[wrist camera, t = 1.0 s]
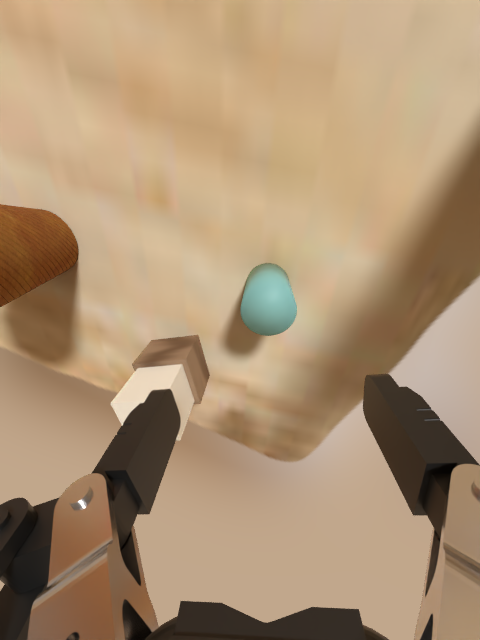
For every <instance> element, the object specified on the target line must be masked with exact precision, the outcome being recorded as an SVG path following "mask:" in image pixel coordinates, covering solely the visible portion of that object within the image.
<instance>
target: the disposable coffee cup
mask: <svg viewBox="0 0 480 640" xmlns="http://www.w3.org/2000/svg"><path fill="white" fill-rule="evenodd" d="M77 256H78V246H77V242H76V239H75V236H74V234H73V233H72V231H71V229H70V228H69V227H68V225H67V224H66V223H65V222H64V221H63V220H62V219H61V218H59V217H58V216H57V215H55V214H53V213H51V212H49V211H46V210H42V209H32V208H24V207H16V206H8V205H0V307H2V306H3V305H5V304H7V303H9V302H11V301H12V300H14V299H16V298H18V297H20V296H22V295H23V294H25V293H27V292H29V291H31V290H32V289H34V288H36V287H38V286H40V285H41V284H43V283H45V282H47V281H49V280H50V279H52V278H54V277H56V276H58V275H59V274H61V273H63V272H65V271H67V270H68V269H70V268H71V267H72V266H73V265H74V264H75V262H76V260H77Z"/></svg>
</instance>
